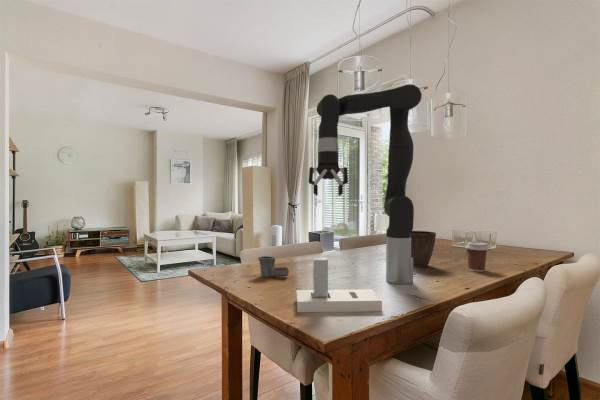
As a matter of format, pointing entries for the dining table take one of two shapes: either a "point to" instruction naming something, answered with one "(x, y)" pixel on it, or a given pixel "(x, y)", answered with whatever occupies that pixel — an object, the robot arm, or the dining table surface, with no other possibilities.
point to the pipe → (271, 267)
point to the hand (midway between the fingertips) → (328, 195)
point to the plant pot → (422, 247)
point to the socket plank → (339, 301)
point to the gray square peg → (320, 277)
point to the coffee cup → (476, 256)
